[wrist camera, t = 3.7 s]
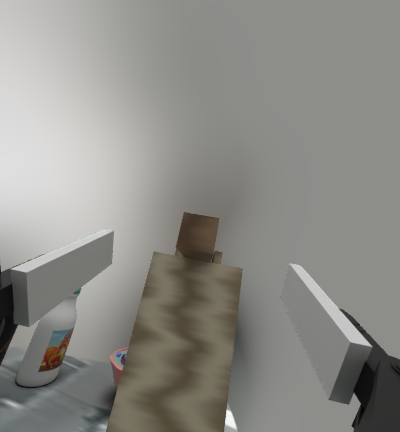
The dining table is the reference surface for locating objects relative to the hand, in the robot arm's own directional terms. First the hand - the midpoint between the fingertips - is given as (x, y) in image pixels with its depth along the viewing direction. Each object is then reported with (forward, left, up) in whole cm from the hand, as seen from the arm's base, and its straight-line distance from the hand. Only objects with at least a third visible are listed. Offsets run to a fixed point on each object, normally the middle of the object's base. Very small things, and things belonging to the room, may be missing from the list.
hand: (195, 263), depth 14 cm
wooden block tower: (-1, +16, -29) cm, 33 cm away
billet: (-1, +13, +1) cm, 13 cm away
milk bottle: (-33, +37, -29) cm, 57 cm away
